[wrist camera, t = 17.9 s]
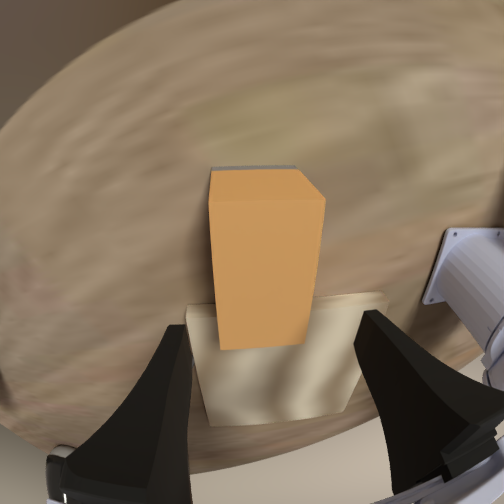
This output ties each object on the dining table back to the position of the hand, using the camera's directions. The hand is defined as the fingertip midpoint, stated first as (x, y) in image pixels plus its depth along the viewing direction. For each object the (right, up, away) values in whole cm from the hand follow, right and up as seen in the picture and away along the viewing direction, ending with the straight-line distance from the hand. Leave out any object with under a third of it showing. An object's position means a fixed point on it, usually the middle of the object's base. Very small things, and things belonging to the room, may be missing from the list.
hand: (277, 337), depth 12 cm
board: (+2, -8, +16) cm, 18 cm away
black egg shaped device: (-35, -35, +28) cm, 56 cm away
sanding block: (-1, +5, +8) cm, 10 cm away
